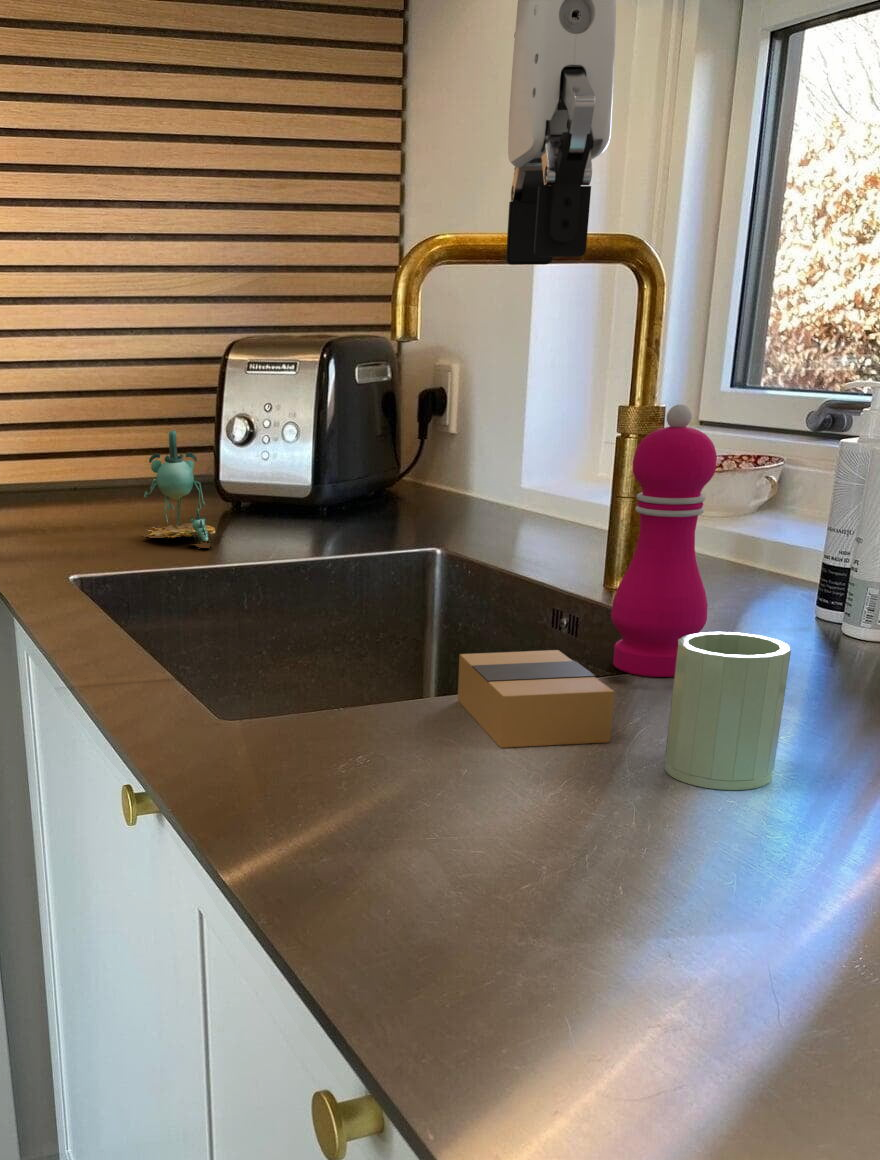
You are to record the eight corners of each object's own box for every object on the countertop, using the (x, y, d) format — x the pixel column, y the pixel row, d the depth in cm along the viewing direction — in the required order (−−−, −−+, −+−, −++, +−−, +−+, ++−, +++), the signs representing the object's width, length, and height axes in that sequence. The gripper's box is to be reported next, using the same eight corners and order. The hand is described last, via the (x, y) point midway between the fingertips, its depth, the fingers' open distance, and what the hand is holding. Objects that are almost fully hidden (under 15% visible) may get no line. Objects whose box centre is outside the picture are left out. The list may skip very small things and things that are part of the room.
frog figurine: (151, 554, 149) (141, 428, 145) (135, 547, 166) (125, 434, 162) (228, 549, 151) (220, 425, 147) (204, 543, 168) (197, 431, 164)
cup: (741, 753, 77) (758, 630, 74) (791, 787, 71) (811, 655, 69) (648, 758, 77) (661, 634, 74) (690, 792, 71) (706, 659, 68)
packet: (457, 700, 89) (459, 653, 88) (555, 695, 90) (558, 648, 88) (500, 748, 79) (503, 695, 78) (610, 742, 80) (615, 690, 78)
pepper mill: (660, 652, 101) (686, 400, 94) (720, 673, 95) (753, 405, 88) (588, 661, 99) (609, 403, 92) (645, 683, 92) (673, 408, 85)
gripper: (667, -85, 67) (634, 253, 73) (590, -6, 83) (569, 266, 90) (532, -85, 67) (511, 253, 73) (481, -5, 83) (467, 267, 90)
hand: (543, 260), depth 81 cm, fingers open, 9 cm apart
